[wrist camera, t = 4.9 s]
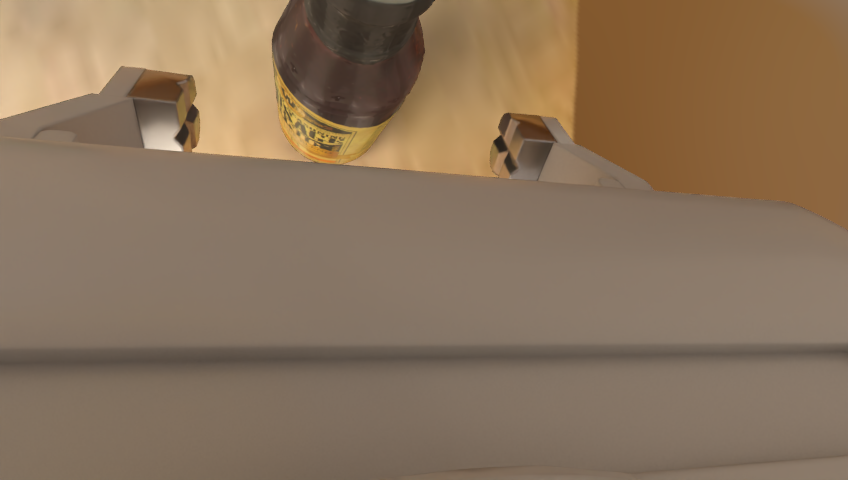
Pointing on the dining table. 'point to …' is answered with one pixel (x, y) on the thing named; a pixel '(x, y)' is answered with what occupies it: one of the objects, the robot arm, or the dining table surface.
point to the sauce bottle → (344, 71)
